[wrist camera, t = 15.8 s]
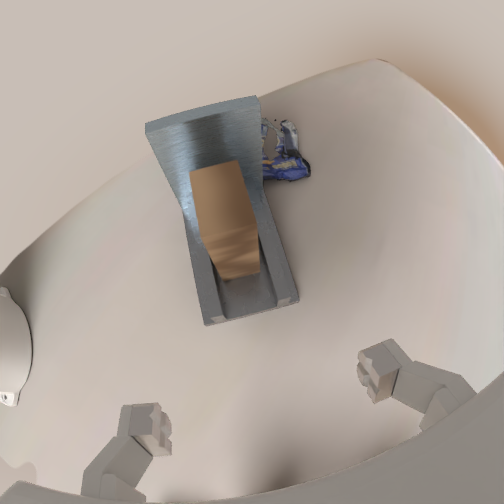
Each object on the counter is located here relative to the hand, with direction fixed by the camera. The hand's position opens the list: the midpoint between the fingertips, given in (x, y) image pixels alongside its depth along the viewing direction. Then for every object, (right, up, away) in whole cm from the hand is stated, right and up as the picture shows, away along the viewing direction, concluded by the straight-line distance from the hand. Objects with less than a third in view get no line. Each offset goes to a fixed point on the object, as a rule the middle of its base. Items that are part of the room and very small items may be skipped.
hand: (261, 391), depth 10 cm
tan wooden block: (-2, +5, +21) cm, 22 cm away
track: (-2, +5, +22) cm, 22 cm away
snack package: (+2, +18, +28) cm, 33 cm away
